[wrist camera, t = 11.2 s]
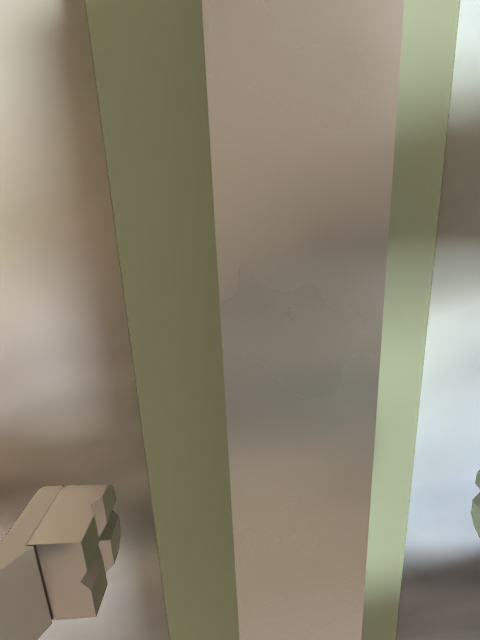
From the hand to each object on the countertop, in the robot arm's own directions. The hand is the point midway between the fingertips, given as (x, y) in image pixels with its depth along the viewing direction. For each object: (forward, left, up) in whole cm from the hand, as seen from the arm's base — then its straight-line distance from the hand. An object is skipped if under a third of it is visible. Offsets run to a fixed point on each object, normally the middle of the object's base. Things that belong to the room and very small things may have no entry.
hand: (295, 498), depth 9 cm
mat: (0, 0, -3) cm, 3 cm away
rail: (0, 0, -3) cm, 3 cm away
